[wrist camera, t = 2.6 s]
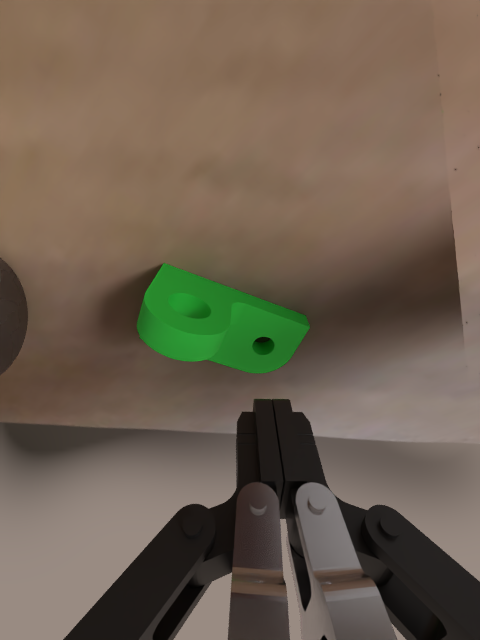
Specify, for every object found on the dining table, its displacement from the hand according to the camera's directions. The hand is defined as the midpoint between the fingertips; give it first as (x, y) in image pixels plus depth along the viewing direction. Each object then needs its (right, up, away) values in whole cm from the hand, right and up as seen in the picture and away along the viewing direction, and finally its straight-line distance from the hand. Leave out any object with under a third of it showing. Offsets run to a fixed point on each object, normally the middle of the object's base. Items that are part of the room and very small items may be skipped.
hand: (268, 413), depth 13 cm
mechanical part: (-3, +4, +12) cm, 13 cm away
